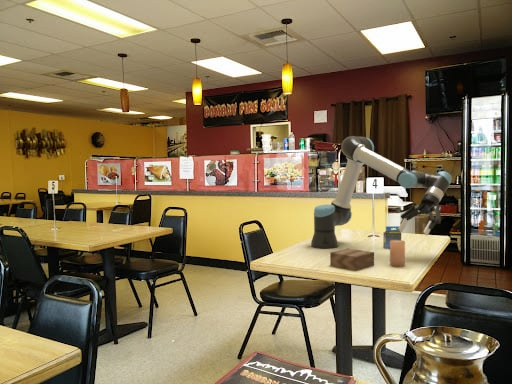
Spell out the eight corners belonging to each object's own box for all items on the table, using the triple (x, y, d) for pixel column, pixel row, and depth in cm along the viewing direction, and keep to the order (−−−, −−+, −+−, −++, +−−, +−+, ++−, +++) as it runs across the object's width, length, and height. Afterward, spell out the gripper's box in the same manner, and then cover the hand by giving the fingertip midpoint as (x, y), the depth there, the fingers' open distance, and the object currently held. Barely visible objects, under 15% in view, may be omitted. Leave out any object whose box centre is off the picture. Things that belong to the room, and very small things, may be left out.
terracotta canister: (387, 265, 188) (387, 241, 188) (394, 262, 193) (394, 239, 192) (400, 267, 184) (400, 242, 183) (407, 265, 188) (407, 241, 188)
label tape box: (398, 247, 232) (398, 225, 232) (401, 248, 228) (401, 226, 228) (383, 247, 232) (383, 225, 232) (385, 248, 228) (385, 226, 228)
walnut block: (330, 265, 189) (330, 252, 188) (348, 260, 198) (348, 248, 198) (356, 270, 179) (356, 257, 178) (374, 265, 188) (374, 252, 188)
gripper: (459, 205, 191) (440, 240, 184) (413, 202, 212) (393, 233, 205) (453, 194, 188) (433, 229, 181) (406, 192, 209) (386, 224, 202)
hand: (412, 232), depth 193 cm, fingers open, 13 cm apart
